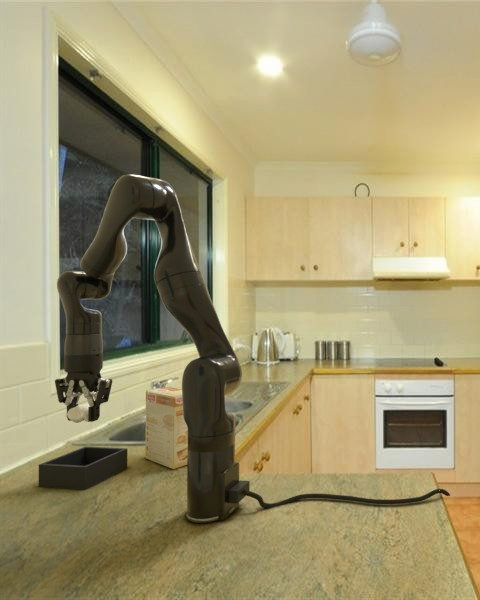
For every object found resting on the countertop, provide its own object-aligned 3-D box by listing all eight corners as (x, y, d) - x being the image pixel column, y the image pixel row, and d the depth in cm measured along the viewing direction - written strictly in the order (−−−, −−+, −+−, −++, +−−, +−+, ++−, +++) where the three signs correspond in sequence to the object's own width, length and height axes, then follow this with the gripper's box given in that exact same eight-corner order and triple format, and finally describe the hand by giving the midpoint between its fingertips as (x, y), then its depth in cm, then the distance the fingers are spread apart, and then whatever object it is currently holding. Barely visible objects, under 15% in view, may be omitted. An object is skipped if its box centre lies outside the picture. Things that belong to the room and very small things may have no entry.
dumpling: (89, 418, 104) (94, 403, 104) (101, 424, 102) (106, 409, 102) (58, 420, 97) (63, 404, 98) (70, 427, 95) (76, 410, 96)
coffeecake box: (198, 461, 112) (198, 391, 113) (172, 470, 106) (173, 396, 107) (169, 450, 120) (170, 385, 121) (144, 458, 114) (144, 390, 115)
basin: (127, 468, 108) (127, 448, 108) (85, 489, 95) (85, 467, 95) (85, 465, 109) (85, 446, 109) (38, 486, 97) (38, 464, 97)
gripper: (43, 353, 97) (42, 423, 97) (97, 354, 95) (96, 426, 95) (72, 349, 104) (71, 415, 104) (122, 350, 103) (121, 417, 102)
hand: (83, 420), depth 100 cm, fingers closed on dumpling, 5 cm apart
